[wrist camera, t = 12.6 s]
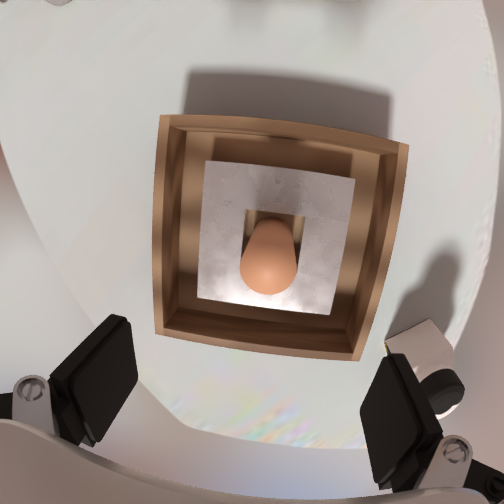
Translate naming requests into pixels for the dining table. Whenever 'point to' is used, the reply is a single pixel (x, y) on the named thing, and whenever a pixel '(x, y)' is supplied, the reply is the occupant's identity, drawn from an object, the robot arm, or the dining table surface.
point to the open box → (284, 156)
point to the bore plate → (279, 201)
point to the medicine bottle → (430, 365)
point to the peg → (269, 257)
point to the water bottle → (58, 2)
